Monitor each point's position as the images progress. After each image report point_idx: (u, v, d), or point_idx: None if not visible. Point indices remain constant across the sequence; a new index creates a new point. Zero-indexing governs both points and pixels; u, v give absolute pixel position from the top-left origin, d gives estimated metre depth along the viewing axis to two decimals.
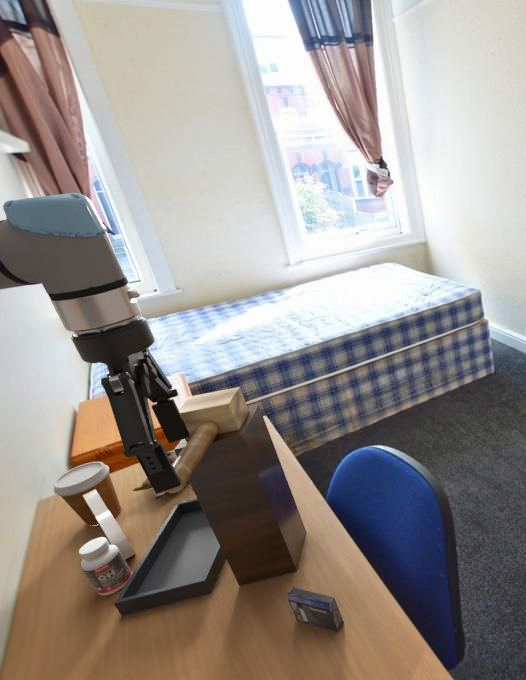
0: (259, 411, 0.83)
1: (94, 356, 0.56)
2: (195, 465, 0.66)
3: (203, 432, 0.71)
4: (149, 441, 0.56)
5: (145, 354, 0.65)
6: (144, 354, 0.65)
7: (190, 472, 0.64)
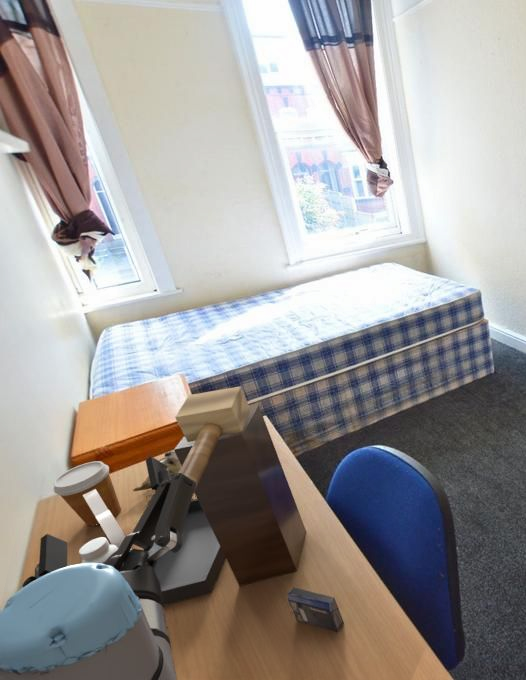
0: (259, 411, 0.83)
1: None
2: (201, 474, 0.66)
3: (206, 437, 0.70)
4: None
5: None
6: None
7: (197, 483, 0.64)
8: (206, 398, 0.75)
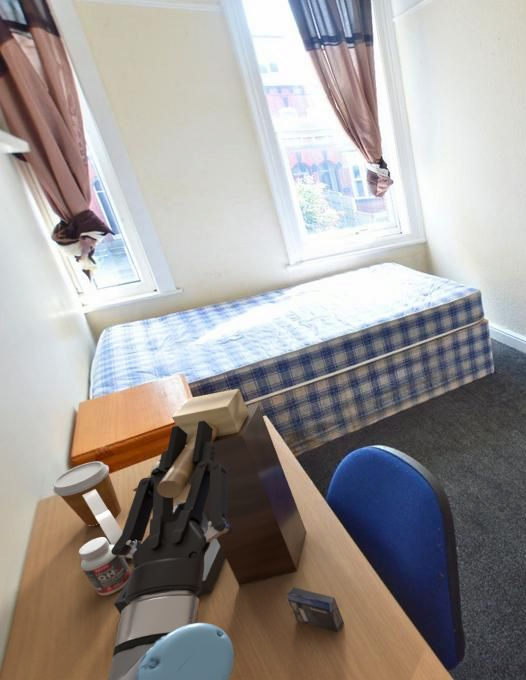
0: (259, 411, 0.83)
1: (129, 580, 0.56)
2: (193, 469, 0.65)
3: None
4: None
5: None
6: None
7: (188, 476, 0.64)
8: (204, 400, 0.76)
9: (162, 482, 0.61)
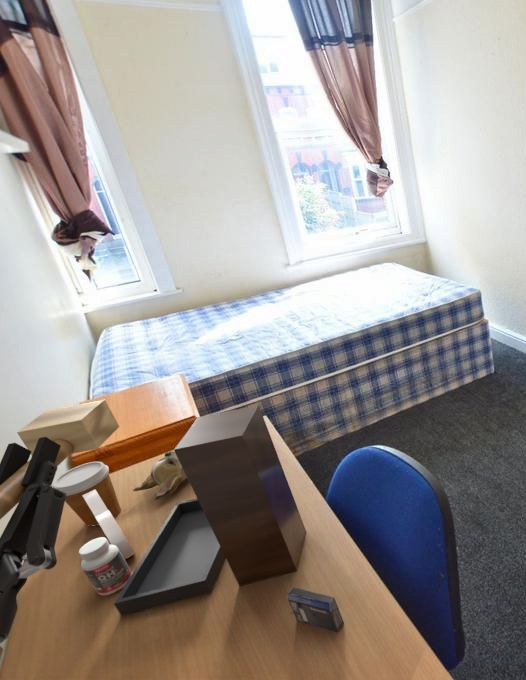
0: (259, 411, 0.83)
1: None
2: (23, 493, 0.58)
3: None
4: None
5: None
6: None
7: (12, 502, 0.56)
8: (61, 412, 0.68)
9: None
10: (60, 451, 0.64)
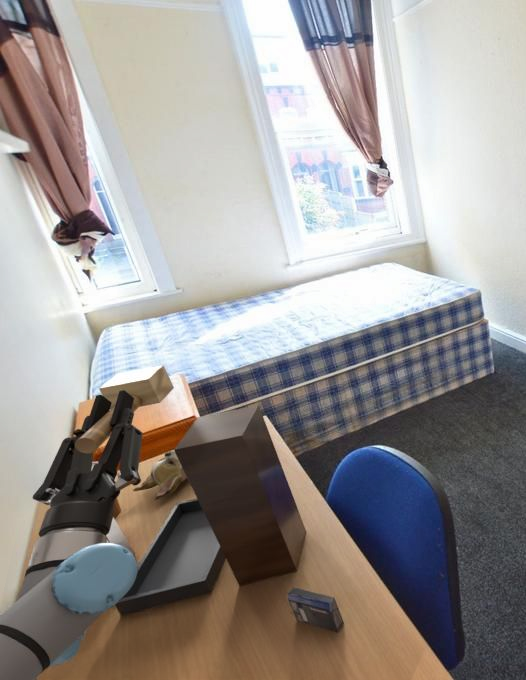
0: (259, 411, 0.83)
1: None
2: (111, 431, 0.75)
3: None
4: (74, 450, 0.75)
5: None
6: None
7: (105, 436, 0.73)
8: (130, 374, 0.86)
9: (79, 439, 0.71)
10: (133, 403, 0.82)
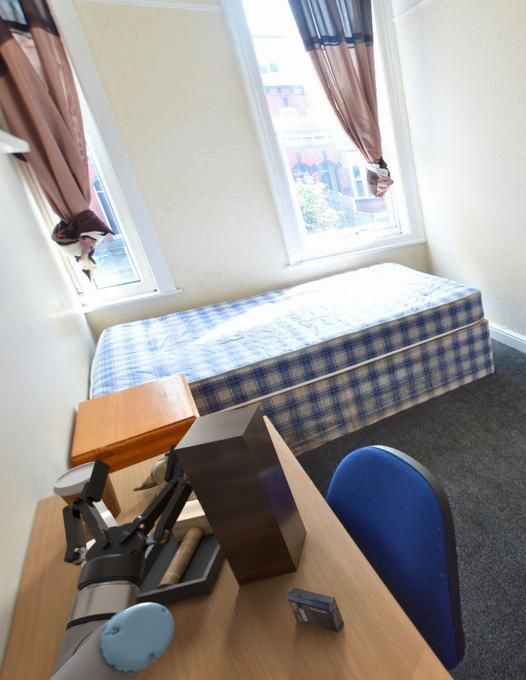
0: (259, 411, 0.83)
1: None
2: (183, 570, 0.87)
3: (190, 539, 0.92)
4: (75, 517, 0.77)
5: None
6: None
7: (179, 577, 0.85)
8: (193, 506, 0.98)
9: (160, 585, 0.82)
10: (197, 536, 0.94)
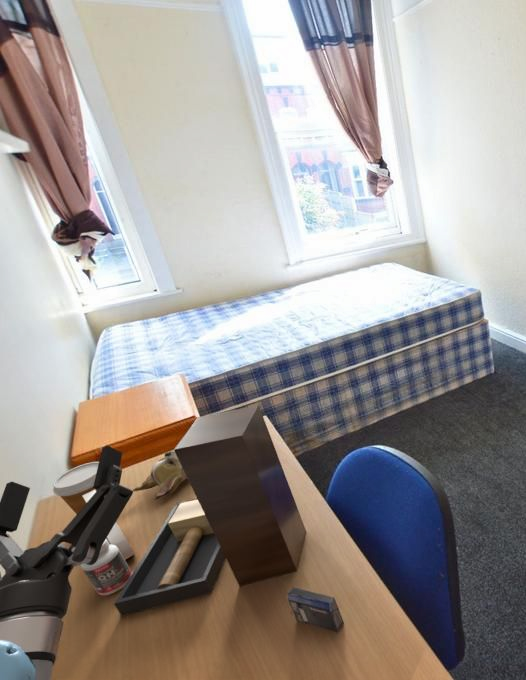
0: (259, 411, 0.83)
1: None
2: (183, 570, 0.87)
3: (190, 539, 0.92)
4: None
5: None
6: None
7: (179, 577, 0.85)
8: (193, 506, 0.98)
9: (160, 585, 0.82)
10: (197, 536, 0.94)
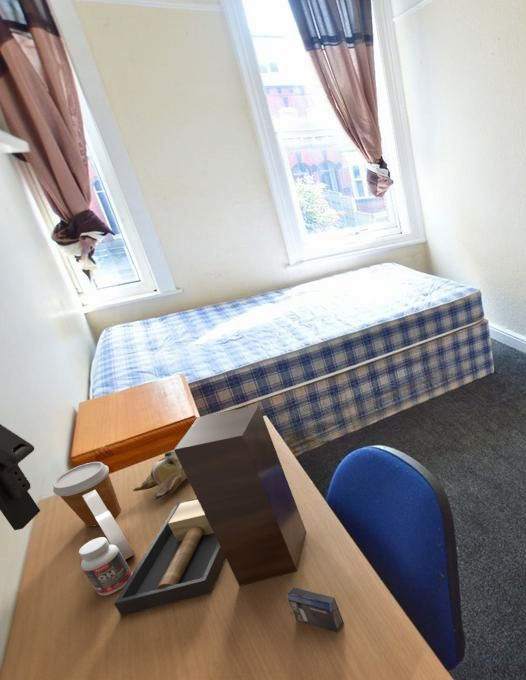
0: (259, 411, 0.83)
1: None
2: (183, 570, 0.87)
3: (190, 539, 0.92)
4: None
5: None
6: None
7: (179, 577, 0.85)
8: (193, 506, 0.98)
9: (160, 585, 0.82)
10: (197, 536, 0.94)
